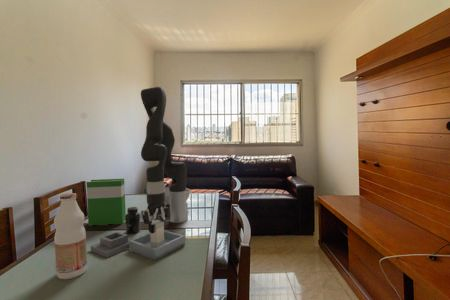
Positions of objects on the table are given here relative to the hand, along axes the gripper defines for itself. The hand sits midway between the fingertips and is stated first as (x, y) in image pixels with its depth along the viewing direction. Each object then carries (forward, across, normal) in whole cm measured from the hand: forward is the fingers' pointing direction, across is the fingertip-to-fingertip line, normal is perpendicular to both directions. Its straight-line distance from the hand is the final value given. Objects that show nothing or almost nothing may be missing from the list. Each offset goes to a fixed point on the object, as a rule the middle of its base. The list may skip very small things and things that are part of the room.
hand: (157, 230), depth 109 cm
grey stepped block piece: (+7, +10, -16) cm, 20 cm away
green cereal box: (+8, -7, -49) cm, 50 cm away
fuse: (+6, 0, 0) cm, 6 cm away
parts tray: (+7, 0, 0) cm, 7 cm away
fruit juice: (+8, +30, -10) cm, 33 cm away
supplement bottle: (+8, -6, -25) cm, 27 cm away
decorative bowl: (+8, -44, -38) cm, 59 cm away
